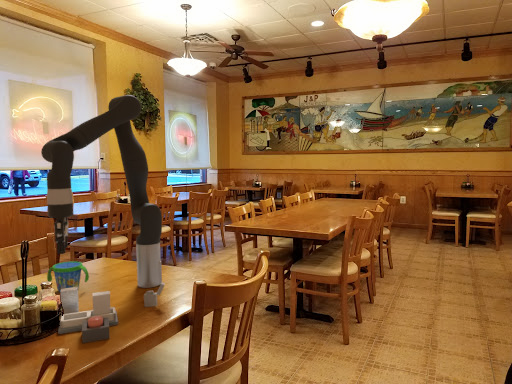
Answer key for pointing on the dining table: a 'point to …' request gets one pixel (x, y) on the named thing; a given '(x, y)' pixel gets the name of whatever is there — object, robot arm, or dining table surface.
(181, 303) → the dining table surface
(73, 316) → the grey slotted holder
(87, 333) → the button housing
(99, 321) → the button
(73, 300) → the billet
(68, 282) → the snack cup
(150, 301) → the lighter
